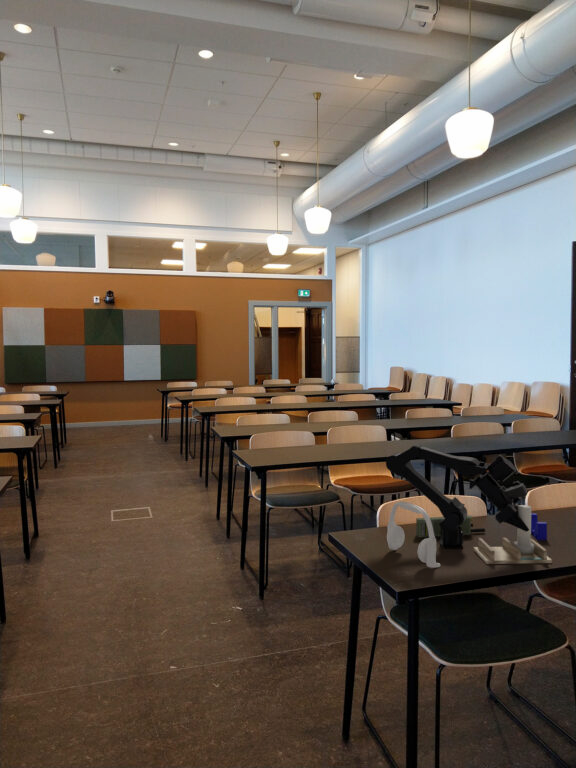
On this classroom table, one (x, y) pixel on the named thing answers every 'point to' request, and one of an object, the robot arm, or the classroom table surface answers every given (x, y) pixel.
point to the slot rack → (510, 553)
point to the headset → (397, 535)
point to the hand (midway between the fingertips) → (528, 528)
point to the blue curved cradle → (538, 528)
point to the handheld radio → (423, 530)
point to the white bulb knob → (523, 536)
